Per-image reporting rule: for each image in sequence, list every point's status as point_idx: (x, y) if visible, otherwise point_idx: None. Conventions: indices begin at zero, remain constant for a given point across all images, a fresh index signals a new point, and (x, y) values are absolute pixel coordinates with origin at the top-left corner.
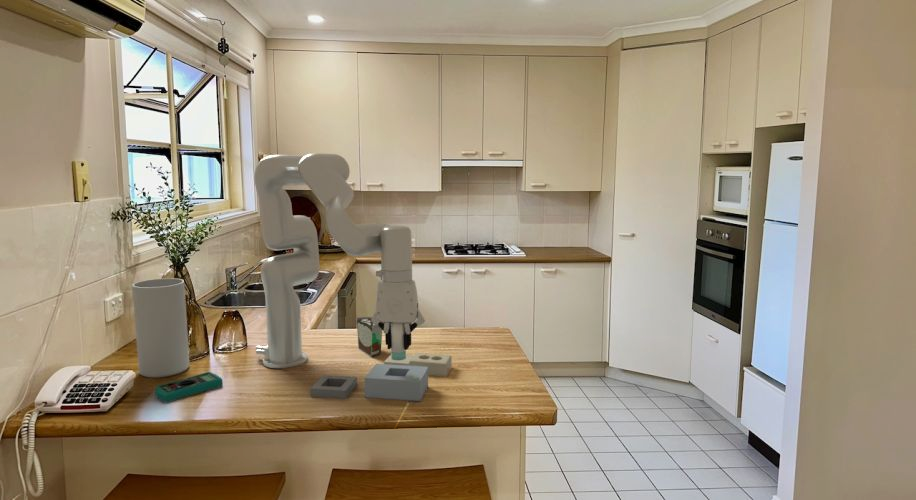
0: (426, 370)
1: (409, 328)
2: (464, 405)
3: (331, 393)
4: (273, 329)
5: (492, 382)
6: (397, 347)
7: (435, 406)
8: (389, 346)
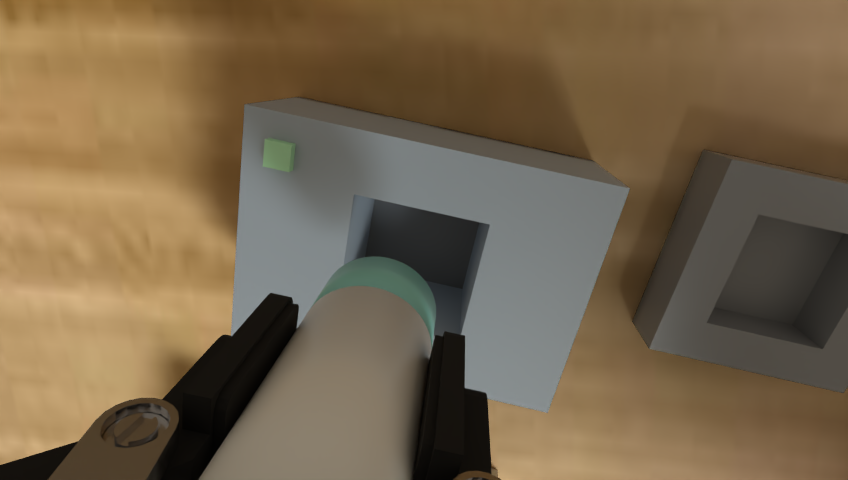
0: (235, 291)
1: (67, 466)
2: (80, 55)
3: (805, 173)
4: None
5: (7, 308)
6: (357, 310)
7: (219, 48)
8: (443, 344)
